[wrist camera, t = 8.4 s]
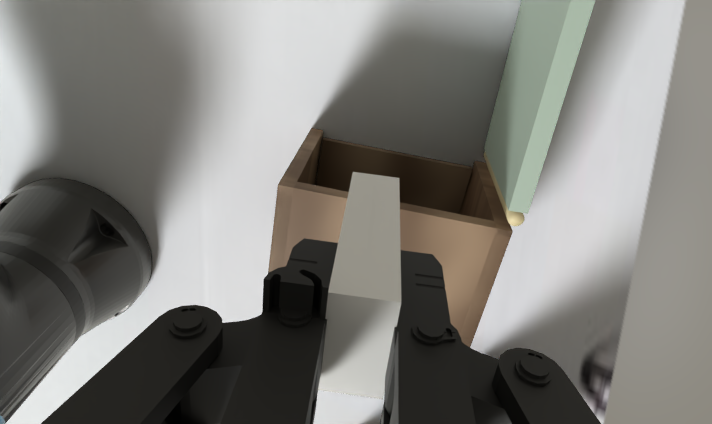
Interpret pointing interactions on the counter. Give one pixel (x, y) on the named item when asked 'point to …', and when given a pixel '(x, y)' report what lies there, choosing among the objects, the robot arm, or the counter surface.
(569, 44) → the cabinet door
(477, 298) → the walnut cabinet
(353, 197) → the robot arm
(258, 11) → the counter surface
